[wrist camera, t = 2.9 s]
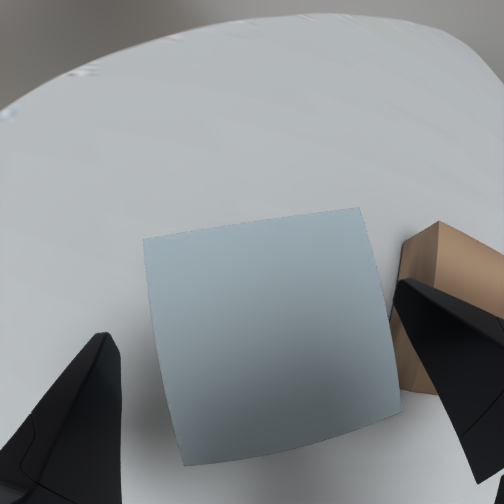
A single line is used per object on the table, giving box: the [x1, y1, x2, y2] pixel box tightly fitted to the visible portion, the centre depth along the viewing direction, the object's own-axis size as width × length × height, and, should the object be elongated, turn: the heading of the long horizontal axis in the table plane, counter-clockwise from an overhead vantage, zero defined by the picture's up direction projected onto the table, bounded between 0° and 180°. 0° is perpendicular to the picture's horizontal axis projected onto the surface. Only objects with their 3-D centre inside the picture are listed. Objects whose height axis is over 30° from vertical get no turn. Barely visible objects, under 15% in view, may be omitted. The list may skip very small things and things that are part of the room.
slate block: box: [143, 207, 402, 466], centre depth 11 cm, size 5×5×10 cm
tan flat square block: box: [389, 221, 504, 395], centre depth 14 cm, size 9×9×4 cm
